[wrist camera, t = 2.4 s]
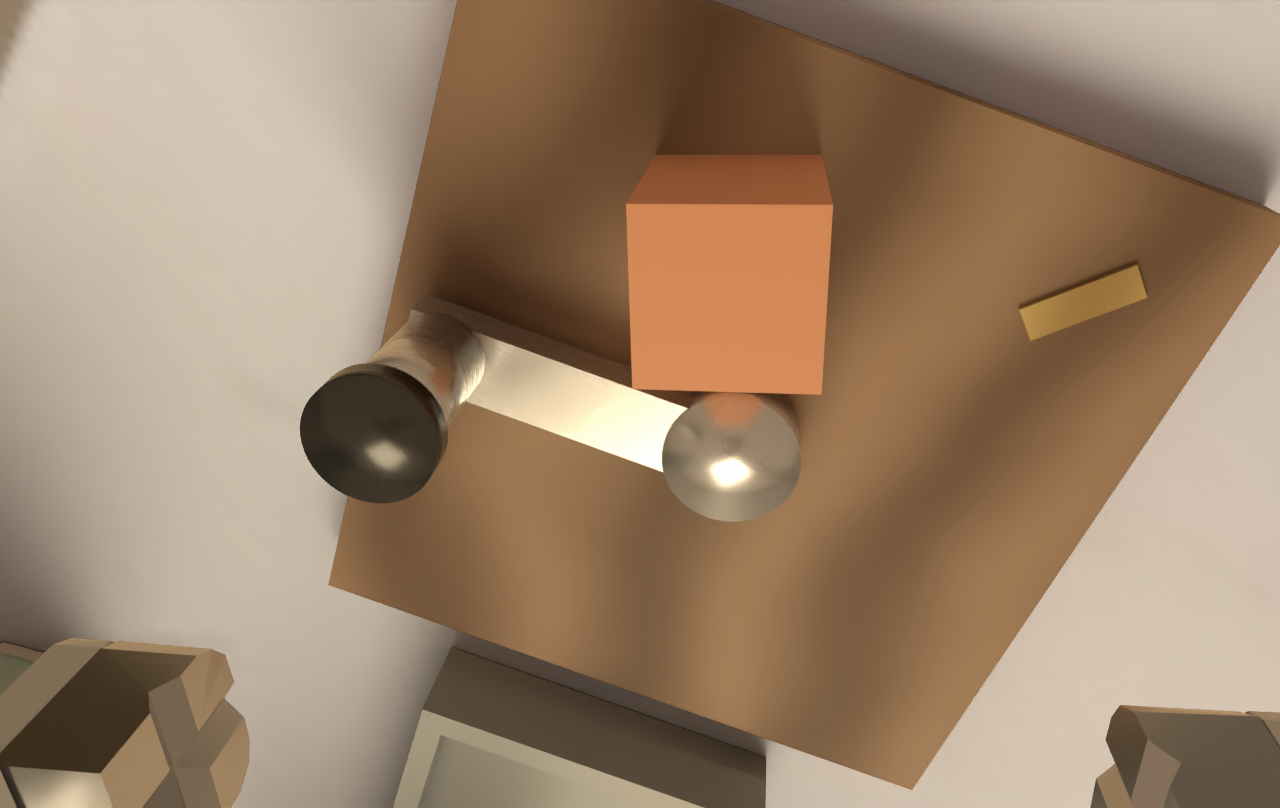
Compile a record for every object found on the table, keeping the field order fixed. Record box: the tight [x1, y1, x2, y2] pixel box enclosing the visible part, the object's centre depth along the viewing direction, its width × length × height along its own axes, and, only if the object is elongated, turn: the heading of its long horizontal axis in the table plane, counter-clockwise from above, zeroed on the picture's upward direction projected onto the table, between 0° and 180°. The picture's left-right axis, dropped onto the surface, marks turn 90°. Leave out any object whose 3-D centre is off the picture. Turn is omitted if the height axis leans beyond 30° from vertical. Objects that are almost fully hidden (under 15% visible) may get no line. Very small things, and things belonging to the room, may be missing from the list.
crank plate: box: [329, 0, 1280, 790], centre depth 27 cm, size 20×20×2 cm
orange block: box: [626, 154, 833, 395], centre depth 21 cm, size 4×4×5 cm
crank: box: [300, 294, 801, 522], centre depth 23 cm, size 11×4×6 cm, turn 72°
